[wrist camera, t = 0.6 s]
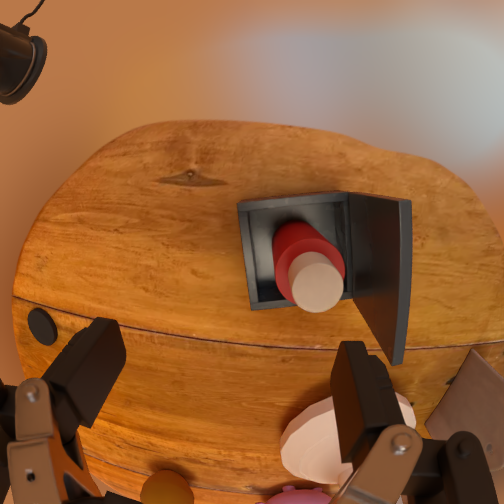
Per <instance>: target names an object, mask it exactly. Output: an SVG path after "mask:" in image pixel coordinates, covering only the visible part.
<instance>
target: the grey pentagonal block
mask: <svg viewBox="0 0 504 504" xmlns="http://www.w3.org/2000/svg"><path fill="white" fill-rule="evenodd" d="M425 426H426V428H427V430H428V432H429V434H430V436H431V437H432V439H434V440H448V439H449V438H450V437H451V436H452V435H453V434H454V433H456V432H459V431H468V432H471V433H473V434H474V435H475V436H477V438H478V439H479V440H480V442H481V445H482V448H483V451H484V454H485V457H486V460H487V463H488V466H489V469H490V472H492V471H496V470H500V469H502V468H503V466H504V378H503V377H502V376H501V375H500V374H499V373H498V372H497V371H496V370H495V369H494V368H493V367H492V366H491V365H490V364H489V363H487V362H486V361H485V360H484V359H483V358H482V357H481V356H480V355H479V354H478V353H477V352H476V351H475V350H474V349H471V350H470V352H469V354H468V356H467V358H466V360H465V361H464V363H463V365H462V367H461V369H460V370H459V372H458V374H457V376H456V377H455V379H454V381H453V382H452V384H451V386H450V387H449V389H448V390H447V392H446V394H445V395H444V397H443V398H442V400H441V401H440V403H439V404H438V406H437V407H436V409H435V410H434V412H433V413H432V414H431V416H430V417H429V419H428V420H427V421H426V423H425ZM491 450H493V454H491V452H490V451H491Z"/></svg>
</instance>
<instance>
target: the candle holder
mask: <svg viewBox="0 0 504 504" xmlns="http://www.w3.org/2000/svg"><path fill="white" fill-rule="evenodd" d="M395 394H396V397H397V400H398V402H399V405H400V408H401V411H402V414H403V417H404V420H405V423H406V425H407V426H410V427H412V428H413V429H415V426H416V420H415V416H414V412H413V409H412V407H411V405H410V403H409V402H408V400H407V398H405V397H403V396H402V395H400V394H398V393H396V392H395ZM280 452H281V458H282V463H283V466H284V467H285V468H286V469H287V470H288V471H289V472H290V473H292V474H293V475H294V476H296V477H300V478H303V479H307V480H310V481H314V482H318V483H322V484H339V488H341V486H342V485H343V484H344V482H345V481H346V480H347V478H348V477H349V475H350V474H351V473H352V471H353V468H352V463H343V464H341V456H340V448H339V440H338V433H337V426H336V419H335V412H334V405H333V399H332V396H331V397H329V398H327V399H324V400H322V401H320V402H317V403H315V404H313V405H310V406H309V407H307V408H306V409H305V410H304V411H303V412H302V413H300V414H299V415H298V416H297V417H296V418H294V419H293V420H292V421H291V422H289V424H288V426H287V428H286V429H285V431H284V433H283V435H282V436H281V438H280Z"/></svg>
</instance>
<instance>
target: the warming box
mask: <svg viewBox="0 0 504 504" xmlns="http://www.w3.org/2000/svg"><path fill="white" fill-rule="evenodd" d="M237 209H238V216H239V224H240V232H241V239H242V247H243V254H244V262H245V269H246V276H247V284H248V291H249V298H250V305H251V310H262V309H272V308H282V307H291V306H298V305H296V304H294V303H292V302H290V301H289V300H287V299H286V298H285V297H284V296H283V295H282V294H281V292H280V291H279V289H278V287H277V284H276V280H275V273H274V264H273V255H272V246H271V243H272V237H273V235H274V233H275V231H276V230H277V228H278V227H279V226H281V225H282V224H283V223H285V222H287V221H291V220H301V221H305V222H307V223H309V224H310V225H312V226H313V227H314V228H315V229H316V230H317V231H318V232H319V233H320V234H321V235H323V236H324V237H325V238H326V239H327V240H328V241H329V242H330V243H331V244H332V245H333V246H334V247H335V248H336V249H337V250H338V251H339V252H340V254H341V256H342V258H343V260H344V264H345V276H344V281H343V285H344V286H343V293H342V295H341V298H340V299H339V300H345V299H352V298H353V268H352V241H351V223H350V209H349V197H348V191H338V190H334V191H322V192H311V193H301V194H291V195H281V196H272V197H263V198H255V199H246V200H241V201H240V202H238V203H237Z"/></svg>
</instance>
